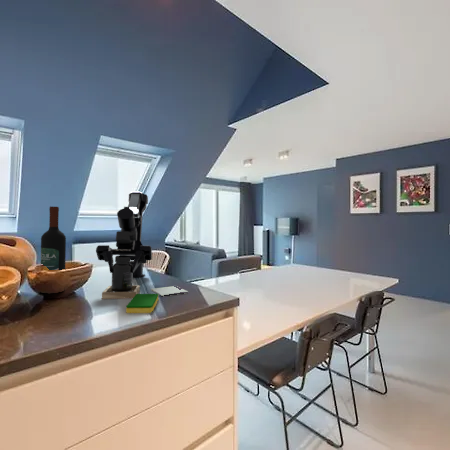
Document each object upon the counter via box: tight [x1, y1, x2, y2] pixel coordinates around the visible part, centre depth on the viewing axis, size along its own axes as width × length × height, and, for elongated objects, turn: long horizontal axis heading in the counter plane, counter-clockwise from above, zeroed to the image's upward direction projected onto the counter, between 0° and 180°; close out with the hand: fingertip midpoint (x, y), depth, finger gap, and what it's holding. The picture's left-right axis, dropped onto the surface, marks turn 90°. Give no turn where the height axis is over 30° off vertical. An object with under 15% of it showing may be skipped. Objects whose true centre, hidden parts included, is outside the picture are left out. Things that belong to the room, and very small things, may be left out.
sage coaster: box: [150, 285, 189, 297], centre depth 105 cm, size 10×10×1 cm
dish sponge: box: [125, 293, 160, 314], centre depth 87 cm, size 7×14×2 cm, turn 5°
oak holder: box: [101, 284, 141, 300], centre depth 99 cm, size 11×11×2 cm
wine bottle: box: [40, 206, 67, 270], centre depth 101 cm, size 8×8×30 cm
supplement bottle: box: [111, 255, 134, 292], centre depth 99 cm, size 7×7×12 cm
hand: (121, 272), depth 98 cm, fingers closed on supplement bottle, 7 cm apart
